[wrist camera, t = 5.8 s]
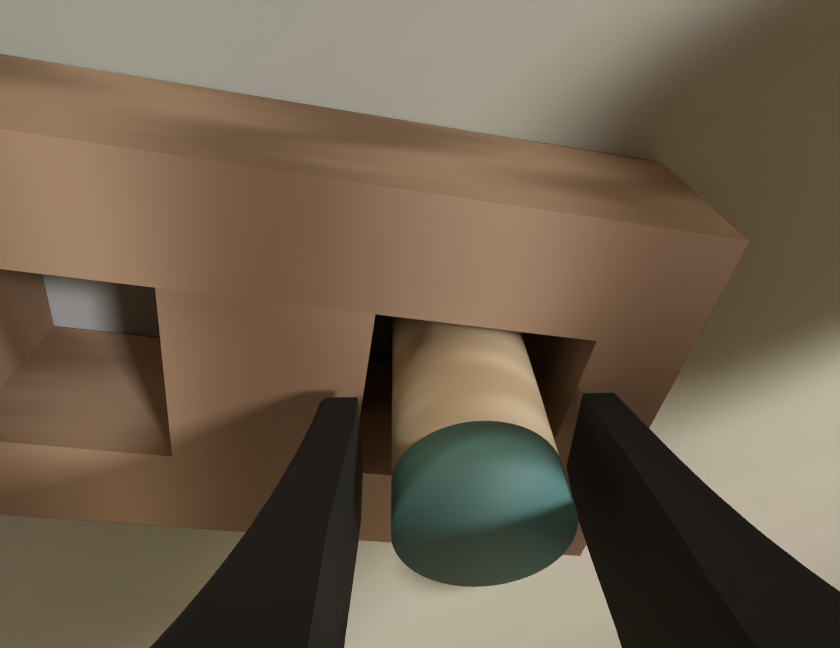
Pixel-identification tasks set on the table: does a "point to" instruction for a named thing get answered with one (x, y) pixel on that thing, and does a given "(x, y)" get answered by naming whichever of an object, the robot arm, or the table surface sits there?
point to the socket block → (304, 284)
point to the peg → (473, 458)
